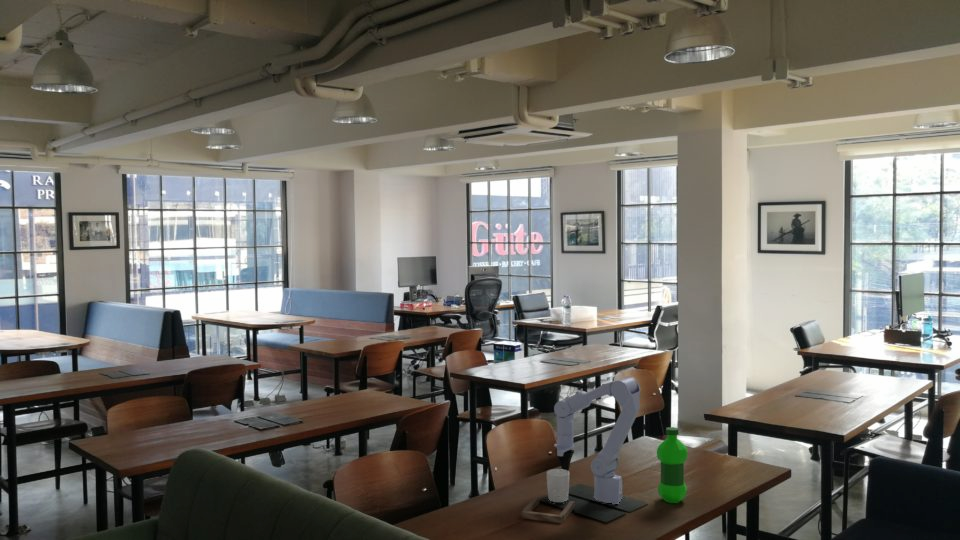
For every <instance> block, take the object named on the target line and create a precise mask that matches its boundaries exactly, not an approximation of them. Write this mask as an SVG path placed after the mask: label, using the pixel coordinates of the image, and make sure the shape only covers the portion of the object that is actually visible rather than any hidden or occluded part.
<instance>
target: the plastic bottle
mask: <svg viewBox="0 0 960 540" xmlns="http://www.w3.org/2000/svg"><path fill="white" fill-rule="evenodd" d="M679 431H680V430H679V427H669V426H668V427H666V429H665V435H667V438H666V439H664V440H663V441H662V442H661V443H659V444H658V447H657V448H656V449H657V450H656V456H657V457H656V458H657V460H659V461H660V482H659V484H658V487H657V492H658V495H659V496H660V497H661V499H663V500H664V502H667V503H670V504H679V503H680V502H682V500H684V498H685V497H686V496H687V489H688V488H687V485H686V483H685V462H687V460H688V455H689V453H688V452H689V451H688V448H687V446H686V445H685V444H684V443H683V442H682V441H681V440H679V439H678V435H679Z"/></svg>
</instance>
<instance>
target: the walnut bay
mask: <svg viewBox="0 0 960 540" xmlns="http://www.w3.org/2000/svg"><path fill="white" fill-rule="evenodd" d="M575 502H576V501H575V500H574V501H572V500H570V501H568V502H567V505H566V506H564V508H563V510H562V511H561V512H560V513H559V514H556V513H555V514H553V513H546V512H537V511H534V510H535V508H536V507H537V506H538V505H539V504H540V497H539V496H534V497H533V499H531V500H530V501H529V503H527V504H526V506H525V507H523V509H522V511H521V519H527V520H533V521H541V522H548V523H557V524H562V523H564V522H565V520H566V519H567V518H568V517H569V516H570V514H571V513H572V512H573V510H572V508H573V507H574V506H576V505H575Z"/></svg>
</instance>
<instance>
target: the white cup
mask: <svg viewBox="0 0 960 540" xmlns="http://www.w3.org/2000/svg"><path fill="white" fill-rule="evenodd" d="M546 488H547V493H548V494H547V497H548V498H547V499H549V500H550V501H553V502H564V501H567V500H568V501H569V491H570V470H569V471H567V470H564V469H562V468H553V469H552V468H551V469H548V470H546ZM549 500H548V501H549Z"/></svg>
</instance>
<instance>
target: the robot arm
mask: <svg viewBox="0 0 960 540" xmlns="http://www.w3.org/2000/svg"><path fill="white" fill-rule="evenodd" d="M641 391H642V389H641V387H640V385H639V382H638V380H637V379H636V378H635V377H633V376H627V377H624V378H620V379H616V380H612V381H609V382H606V383H603V384H602V385H600V386H598V387H596V388H595V389H593V390H591V391H588V392H587V391H584V390H582V391H581V390H577V391H575V394H573V395H571V396H569V395H567V396H566V397H565V398H564V399H563V400H559V401H557V402H556V403H555V404H554V406H553V410H554V414H555V415H556V423H557V424H556V425H557V426H556V431H557V432H556V436H557V437H556V439H557V440H556V442H557V443H554V444H553V447H554V448H556V449H557V451H556V456H557V458H558V460H559V463H560V469H564V470H567V471H569V472H570V467H571V462H572V458H573V455H574V453H575V450H574V448H575V445H574V415H575V413H577V412H579V411H581V410H584V409H586V408H588V407H590V406H591V404H592V401H594V400H596V399H599V398H601V397H604V396H606V395H608V396H609V397H612V398H614V399H615V400H616V402H617V403H618V405H620V407H621V411H620V413H619V416H618V418H617V419H616V422H615V424H614V426H613V428H612V430H611V432H610V434H609V436H608V439H607V440H606V443H605V444H604V447H603V448H602V449H601V450H600V451H599V452H598V453H597V456H596V457H595V458H593V459H592V460H591V462H590V470H591V472H592V474H593V479H594V480H593V485H594V487H593V488H594V489H593V490H594V491H593V493H594V494H593V495H594V496H593V497H594V498H595V499H596V500H599V501H603V502H606V503H612V504H611V505H615V504H618V505H620V503H621V502H622V500H623V498H622V497H623V477H622V476H621V475H618V474H616V469H617V468H618V466H619V458H620V456H621V454H620V450H622V449H621V448H622V447H623V445H624V442H625V440H626V438H627V436H628V434H629V433H630V430H631V429H632V427H633V424H634V422H635V420H636V418H637V416H638V414H639V412H640V409H641V407H640V404H641V403H640V393H641ZM621 499H622V500H621ZM619 502H620V503H619ZM606 503H605V504H606Z"/></svg>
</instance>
